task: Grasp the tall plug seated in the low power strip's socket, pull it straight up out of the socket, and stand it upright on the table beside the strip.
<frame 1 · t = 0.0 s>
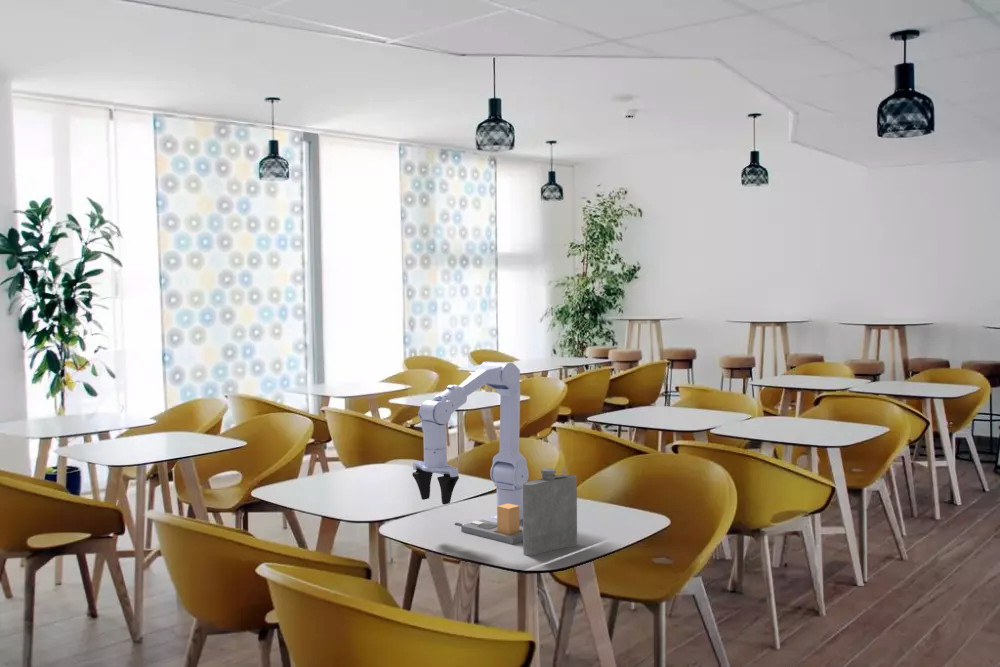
hand: (435, 501, 226), 10 cm above the table, fingers open, 7 cm apart
plug: (508, 537, 228), resting on power strip
hip flask: (549, 551, 217), on the table
power strip: (497, 536, 230), on the table
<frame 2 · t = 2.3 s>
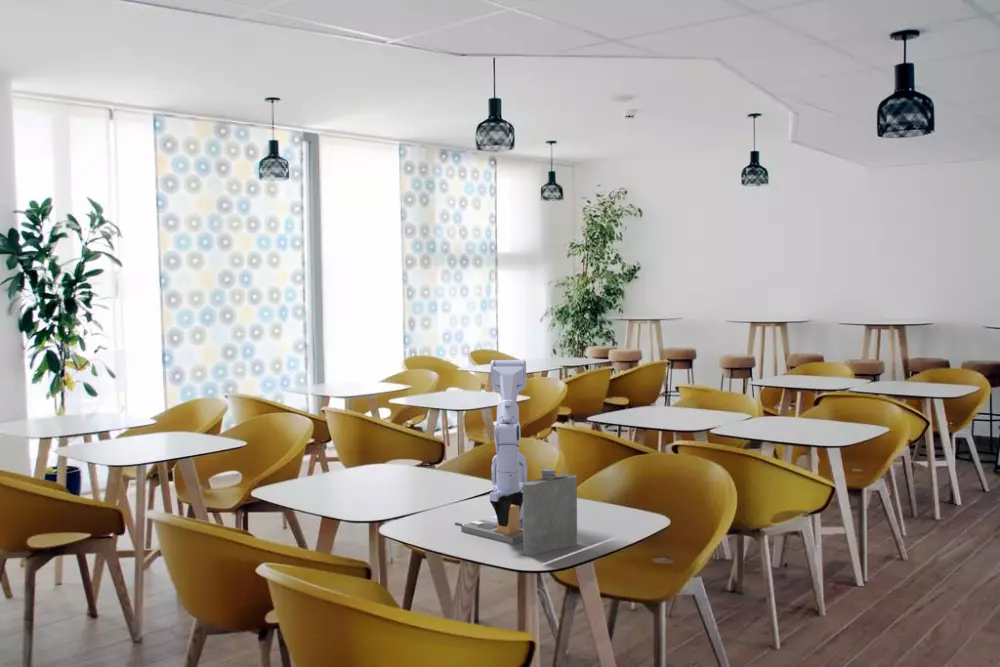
hand: (508, 523, 227), 4 cm above the table, fingers closed on plug, 5 cm apart
plug: (508, 537, 228), point 1 cm above the table, touching gripper, power strip
everything else where it was.
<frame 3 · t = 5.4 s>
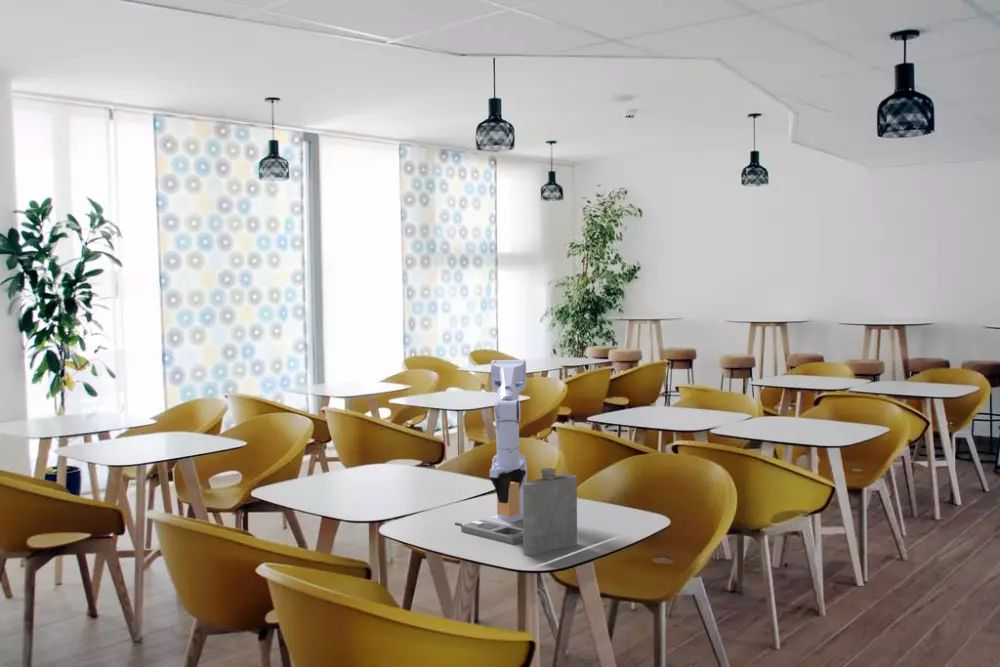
hand: (508, 500, 227), 10 cm above the table, fingers closed on plug, 5 cm apart
plug: (508, 514, 227), point 6 cm above the table, touching gripper
everything else where it was.
when the fingers open (5 cm above the table, at t = 8.4 s): plug drops 1 cm, on the table.
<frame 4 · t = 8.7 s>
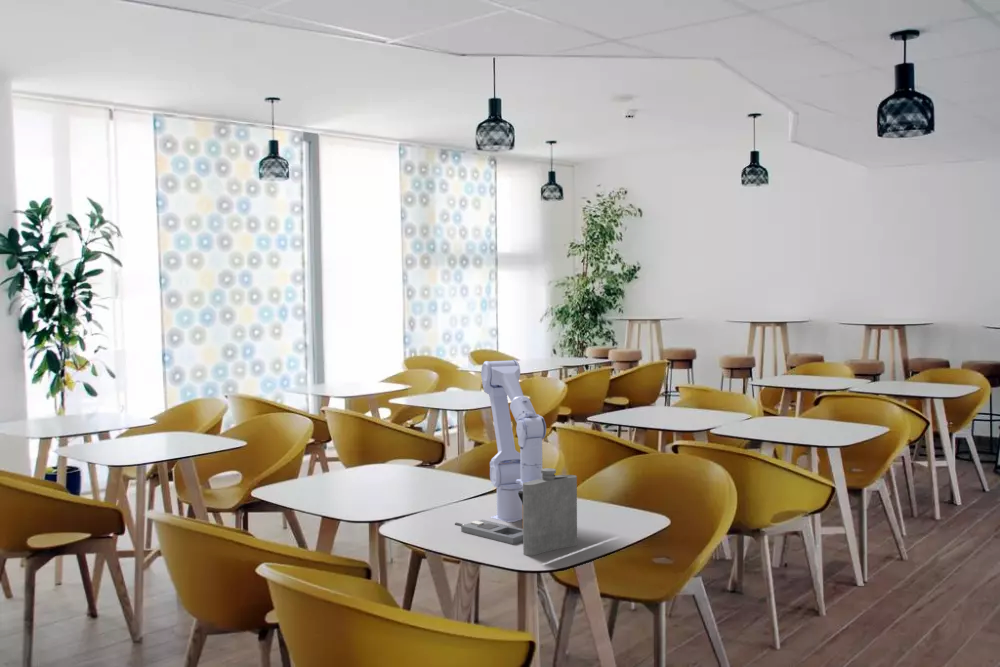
hand: (531, 515, 233), 5 cm above the table, fingers open, 7 cm apart
plug: (532, 533, 233), on the table
everything else where it was.
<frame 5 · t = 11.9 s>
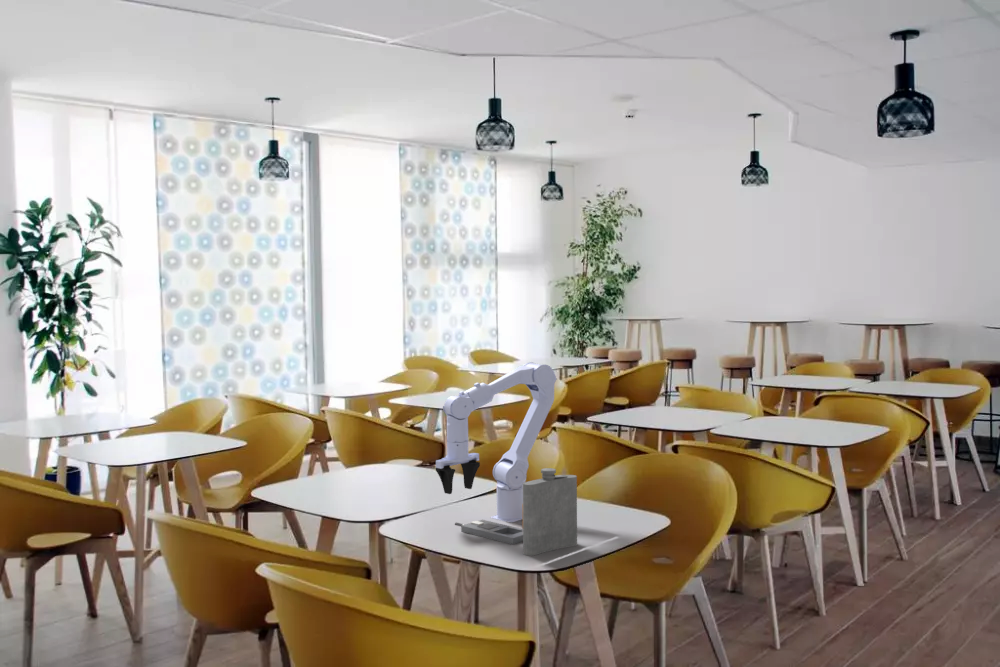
hand: (458, 490, 241), 9 cm above the table, fingers open, 7 cm apart
nothing on the table moved.
at the end: plug inside the target area (0.2 cm from its centre), on the table; plug tilted 0°; the gripper is holding nothing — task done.
